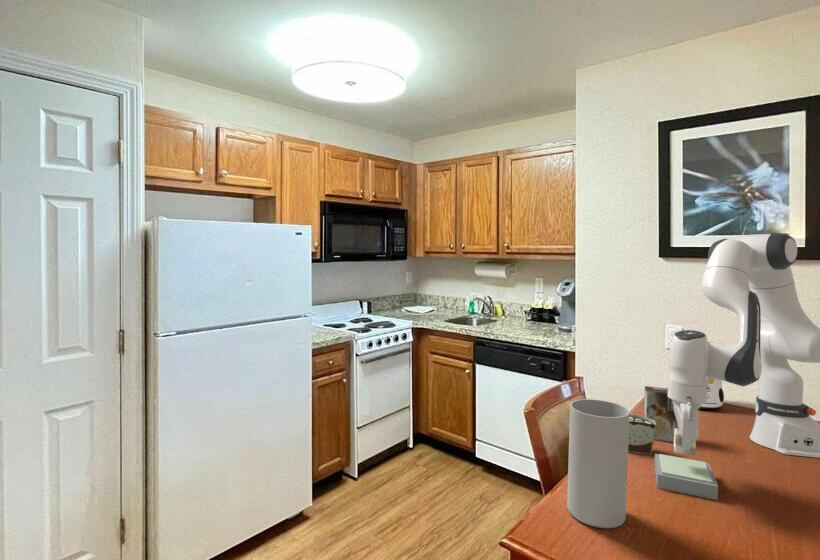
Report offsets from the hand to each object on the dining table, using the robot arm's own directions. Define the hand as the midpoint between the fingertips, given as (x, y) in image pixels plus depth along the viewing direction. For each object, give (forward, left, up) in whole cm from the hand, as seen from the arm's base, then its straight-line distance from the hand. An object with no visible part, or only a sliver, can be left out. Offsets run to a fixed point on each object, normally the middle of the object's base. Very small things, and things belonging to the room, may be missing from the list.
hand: (684, 444), depth 118 cm
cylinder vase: (+20, +27, -10) cm, 35 cm away
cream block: (0, 0, -2) cm, 2 cm away
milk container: (-12, -76, -11) cm, 78 cm away
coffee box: (+4, -31, -10) cm, 33 cm away
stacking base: (0, 0, -10) cm, 10 cm away
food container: (+12, -17, -11) cm, 23 cm away
